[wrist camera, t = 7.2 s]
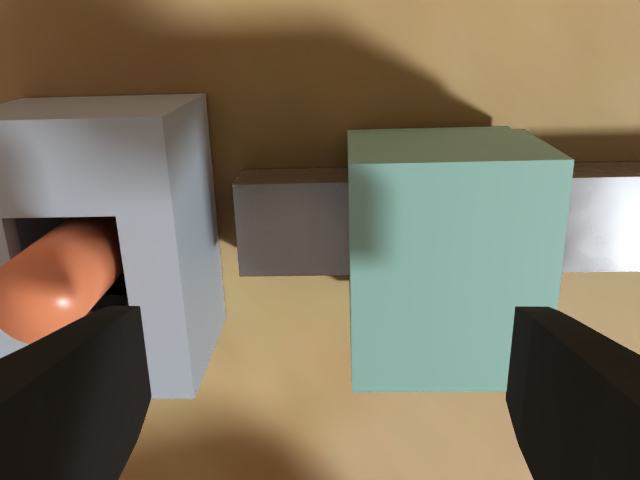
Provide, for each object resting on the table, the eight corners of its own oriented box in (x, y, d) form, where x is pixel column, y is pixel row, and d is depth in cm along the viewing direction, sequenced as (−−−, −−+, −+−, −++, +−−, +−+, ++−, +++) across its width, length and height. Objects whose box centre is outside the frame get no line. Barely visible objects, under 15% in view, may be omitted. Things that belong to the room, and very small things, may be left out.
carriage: (494, 294, 21) (548, 391, 16) (349, 296, 21) (352, 392, 16) (507, 119, 19) (574, 159, 14) (346, 123, 19) (349, 164, 14)
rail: (905, 244, 20) (963, 267, 18) (248, 253, 21) (239, 276, 19) (933, 155, 19) (997, 169, 17) (242, 169, 20) (232, 184, 18)
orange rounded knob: (137, 278, 18) (85, 344, 15) (66, 279, 19) (-5, 345, 15) (128, 208, 18) (70, 259, 14) (53, 210, 18) (-25, 260, 14)
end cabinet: (226, 318, 22) (194, 399, 17) (63, 320, 22) (-11, 399, 18) (205, 93, 19) (161, 116, 15) (21, 98, 20) (-80, 122, 15)
